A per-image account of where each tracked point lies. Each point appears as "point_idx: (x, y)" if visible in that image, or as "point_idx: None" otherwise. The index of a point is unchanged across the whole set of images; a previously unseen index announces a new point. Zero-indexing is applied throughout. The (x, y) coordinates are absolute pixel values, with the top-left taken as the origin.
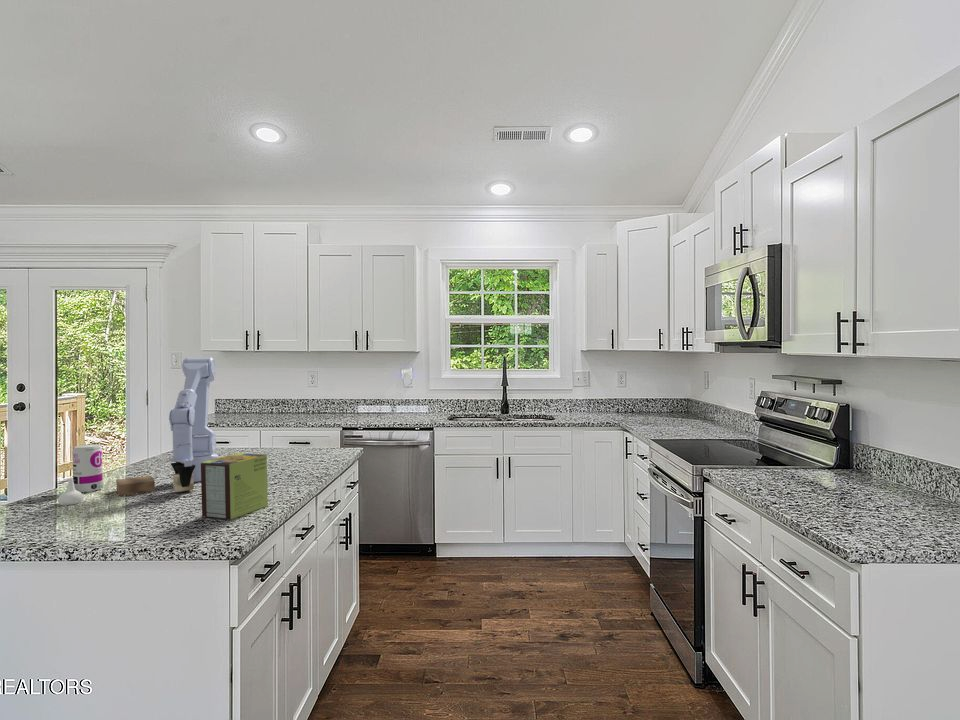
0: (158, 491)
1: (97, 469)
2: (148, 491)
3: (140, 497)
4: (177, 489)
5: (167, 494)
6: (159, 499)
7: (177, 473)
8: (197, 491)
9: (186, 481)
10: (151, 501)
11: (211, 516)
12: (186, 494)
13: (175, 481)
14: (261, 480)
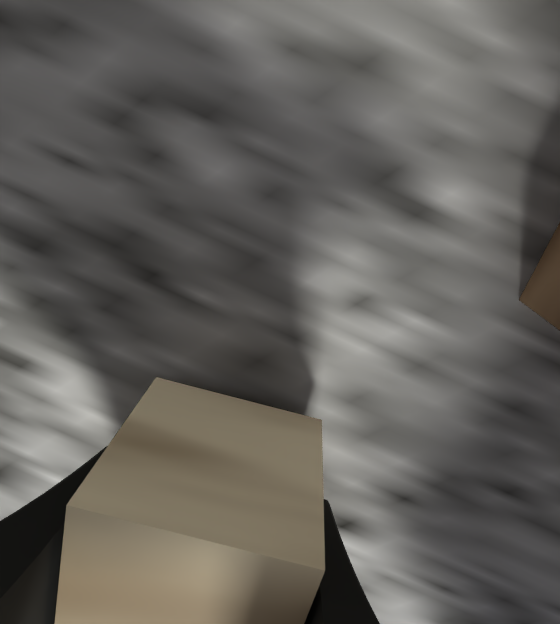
0: (481, 325)
1: None
2: (557, 238)
3: (378, 41)
4: (144, 396)
5: (243, 311)
6: (71, 146)
7: (312, 620)
8: None
9: None
10: (37, 33)
11: None
12: (85, 409)
13: (185, 463)
14: None
